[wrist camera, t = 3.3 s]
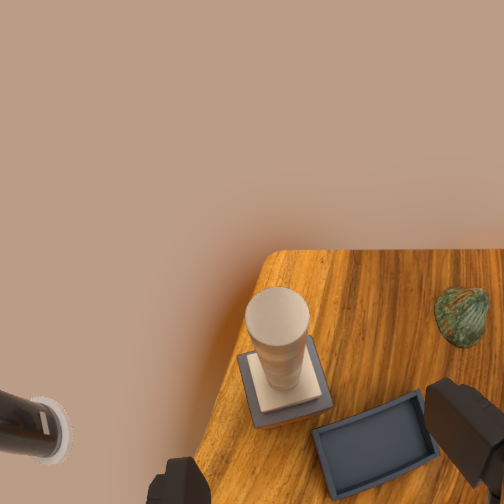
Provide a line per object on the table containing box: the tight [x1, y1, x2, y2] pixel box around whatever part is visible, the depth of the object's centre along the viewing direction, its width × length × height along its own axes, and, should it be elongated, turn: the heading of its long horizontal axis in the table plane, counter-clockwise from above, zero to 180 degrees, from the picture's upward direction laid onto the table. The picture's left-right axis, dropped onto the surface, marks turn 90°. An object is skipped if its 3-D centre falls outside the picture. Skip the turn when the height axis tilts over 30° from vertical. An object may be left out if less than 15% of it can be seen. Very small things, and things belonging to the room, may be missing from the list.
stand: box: [237, 335, 334, 430], centre depth 32 cm, size 7×7×14 cm
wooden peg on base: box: [245, 287, 322, 414], centre depth 19 cm, size 5×5×16 cm
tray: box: [310, 389, 441, 501], centre depth 31 cm, size 14×10×3 cm
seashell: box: [435, 286, 489, 348], centre depth 38 cm, size 10×4×10 cm
